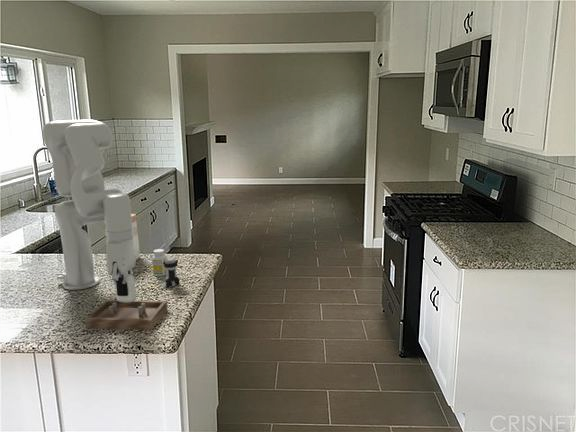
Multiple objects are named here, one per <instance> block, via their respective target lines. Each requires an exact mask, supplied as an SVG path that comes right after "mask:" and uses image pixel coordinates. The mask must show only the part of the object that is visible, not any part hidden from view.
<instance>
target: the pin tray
mask: <svg viewBox="0 0 576 432" xmlns="http://www.w3.org/2000/svg"><path fill="white" fill-rule="evenodd" d="M167 302H168V301H167V300H163V301H162V300H134V301H133V302H119V301H117V299H112V300H111V299H106V300H104V301H103V303H102V304H100V305H99V306H98V307H97V308H96V309H94V311H92V312H91V313H89V314H88V316H87V317H86V318H84V319H85V322H84V323H85V329H102V330H106V329H107V330H139V331H140V330H144V331H146V330H147V331H152V330H153V329H154V328H155V326H157V323H159V322H160V320H161V318H162V317H163V316H164V315H165V314H166V312H167V311H168V303H167Z"/></svg>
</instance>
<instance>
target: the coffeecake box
mask: <svg viewBox="0 0 576 432" xmlns="http://www.w3.org/2000/svg"><path fill="white" fill-rule="evenodd" d="M131 216H132V226H133V237H134V239H133V244H134V250H135V260H136V261H137V260H138V259H140V258H141V253H140V244H139V243H140V242H139V234H138V233H139V232H138V225H137V224H138V223H137V221H138V220H137V213H131ZM103 223H104V230H105V234H106V227H105V221H103ZM105 240H106V244H107V243H108V242H107V236H106V235H105Z"/></svg>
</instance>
